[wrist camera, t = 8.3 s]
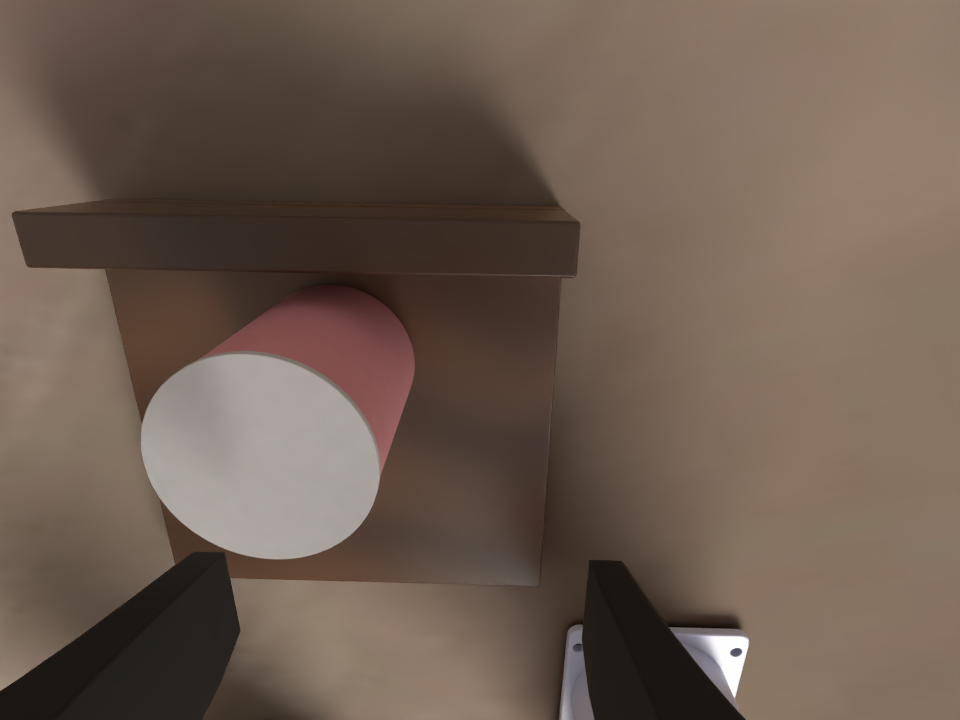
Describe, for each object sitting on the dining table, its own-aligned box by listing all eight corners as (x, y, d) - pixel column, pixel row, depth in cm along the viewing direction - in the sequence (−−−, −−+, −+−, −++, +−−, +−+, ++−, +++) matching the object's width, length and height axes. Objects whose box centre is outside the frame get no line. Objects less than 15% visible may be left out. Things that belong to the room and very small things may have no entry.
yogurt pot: (418, 432, 20) (384, 562, 13) (268, 428, 20) (165, 556, 14) (414, 283, 18) (372, 356, 11) (247, 280, 18) (115, 350, 12)
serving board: (537, 566, 23) (546, 650, 19) (192, 557, 24) (132, 638, 20) (561, 206, 18) (581, 221, 14) (113, 198, 18) (9, 211, 14)
